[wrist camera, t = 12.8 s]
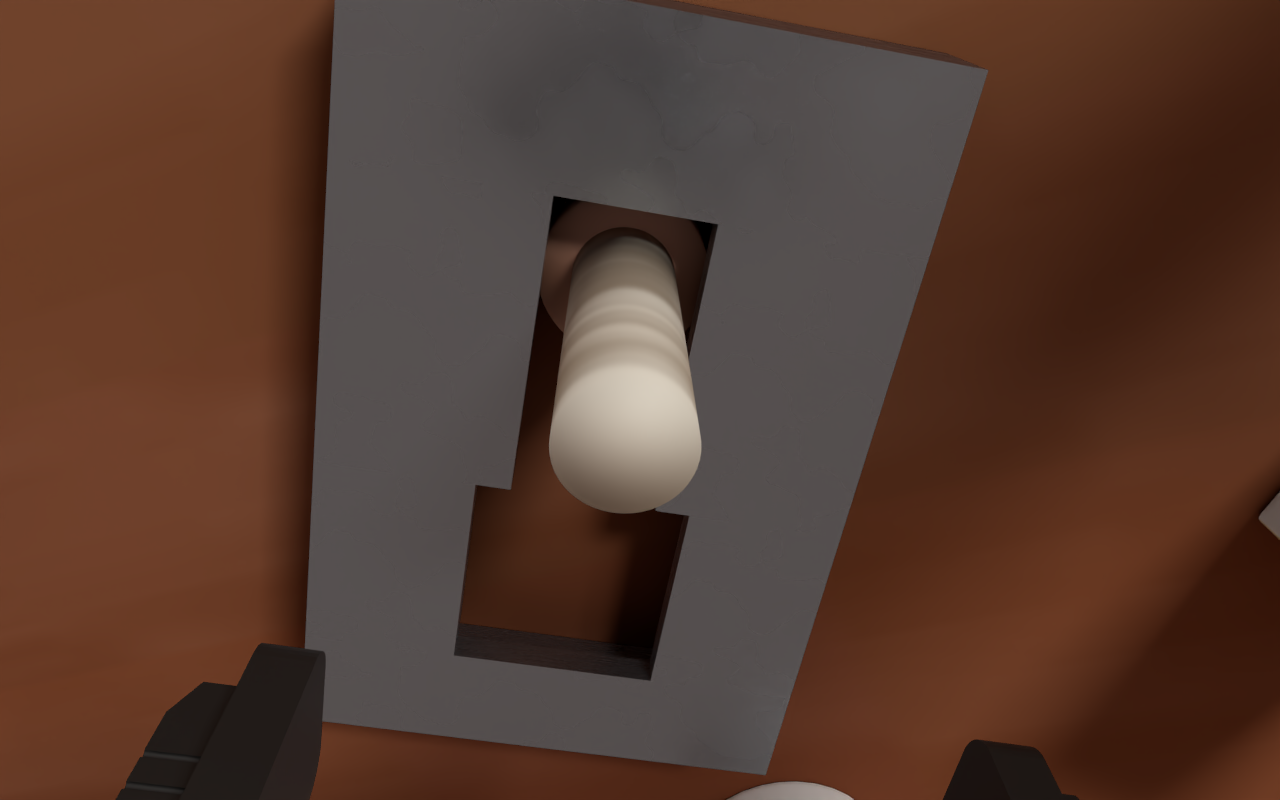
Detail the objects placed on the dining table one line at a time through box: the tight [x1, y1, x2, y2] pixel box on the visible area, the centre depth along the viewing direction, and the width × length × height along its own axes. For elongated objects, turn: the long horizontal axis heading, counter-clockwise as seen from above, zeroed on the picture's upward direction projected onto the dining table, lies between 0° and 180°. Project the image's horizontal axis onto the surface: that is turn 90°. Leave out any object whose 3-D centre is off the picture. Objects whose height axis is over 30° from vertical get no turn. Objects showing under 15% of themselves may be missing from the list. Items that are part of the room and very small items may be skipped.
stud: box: [540, 199, 706, 514], centre depth 25 cm, size 5×5×12 cm
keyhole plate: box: [305, 0, 988, 775], centre depth 31 cm, size 24×16×4 cm, turn 170°
